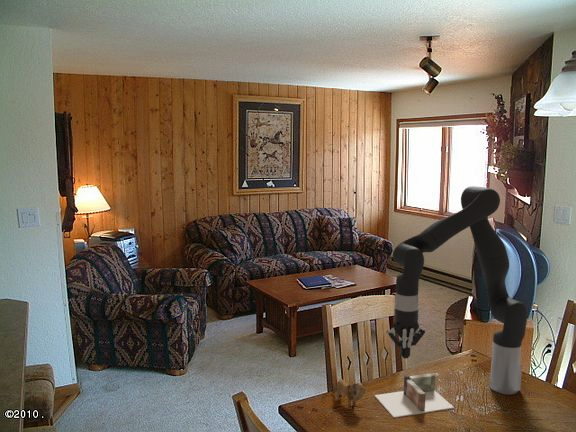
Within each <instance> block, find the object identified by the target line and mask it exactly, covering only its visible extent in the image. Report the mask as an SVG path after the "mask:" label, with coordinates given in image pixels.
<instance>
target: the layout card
mask: <svg viewBox="0 0 576 432" xmlns="http://www.w3.org/2000/svg"><path fill="white" fill-rule="evenodd" d="M424 393H425V394H426V398H425V410H419V409H418V407H417V406H416V405H415V403H414V402H413V401H412V400H411V399H410V398H409V397H408V396H407V395H404V390H402V391H394V392H387V393H382V394H381V393H380V394H374V398H376V400H378V402H379V404H381V406H382V407H384V408H385V410H386V411H387V412H388V413H389V414H390V415H391V417H392V418H394V419H396V418H402V417H407V416H408V417H409V416H415V415H420V414H428V413H434V412H435V413H436V412H439V411H446V410H452V409H455V407H454V406H453V405H452V404H451V403H450V402H449V401H447V399H445V398H444V397H443V396H442V395H441V394H439V392H438V391H436V390H435V391H432V392H431V391H429V392H428V391H427V392H424Z"/></svg>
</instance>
